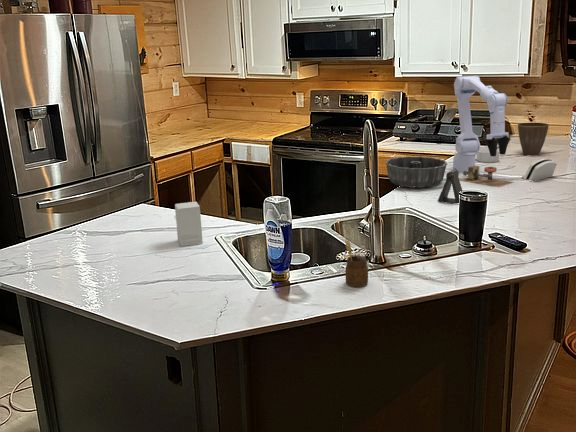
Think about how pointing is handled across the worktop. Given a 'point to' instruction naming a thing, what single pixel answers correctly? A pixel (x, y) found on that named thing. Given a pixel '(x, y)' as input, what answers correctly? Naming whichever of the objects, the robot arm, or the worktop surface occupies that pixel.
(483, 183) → the board
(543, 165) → the grey rounded block
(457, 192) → the phone stand
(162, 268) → the worktop surface
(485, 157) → the saucepan
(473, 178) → the wooden holder
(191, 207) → the supplement box
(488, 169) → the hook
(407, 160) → the bundt pan
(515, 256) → the worktop surface
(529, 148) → the plant pot
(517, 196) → the worktop surface
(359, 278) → the utensil holder
